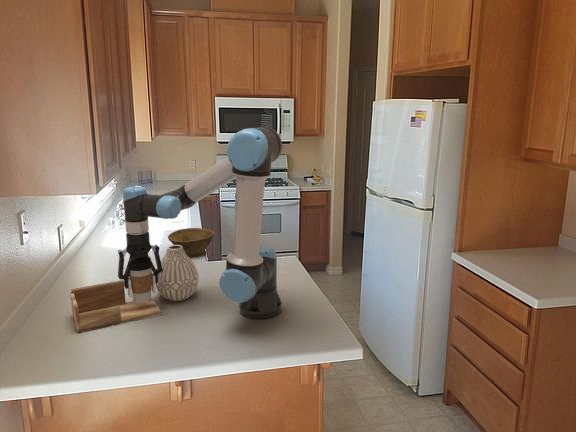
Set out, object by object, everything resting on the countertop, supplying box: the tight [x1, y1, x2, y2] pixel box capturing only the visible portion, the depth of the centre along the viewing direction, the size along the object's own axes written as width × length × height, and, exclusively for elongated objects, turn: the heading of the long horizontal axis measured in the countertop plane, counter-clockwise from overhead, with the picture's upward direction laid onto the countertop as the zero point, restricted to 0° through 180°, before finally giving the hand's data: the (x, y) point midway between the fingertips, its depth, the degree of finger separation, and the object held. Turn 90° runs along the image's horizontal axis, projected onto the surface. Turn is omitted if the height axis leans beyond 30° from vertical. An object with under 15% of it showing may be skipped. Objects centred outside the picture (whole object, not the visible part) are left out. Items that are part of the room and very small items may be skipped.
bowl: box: [167, 227, 215, 257], centre depth 227 cm, size 22×23×10 cm
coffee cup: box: [126, 257, 153, 303], centre depth 163 cm, size 8×8×15 cm
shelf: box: [69, 279, 163, 334], centre depth 160 cm, size 14×27×10 cm, turn 120°
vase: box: [155, 244, 199, 302], centre depth 174 cm, size 16×16×20 cm
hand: (142, 293), depth 164 cm, fingers closed on coffee cup, 7 cm apart
